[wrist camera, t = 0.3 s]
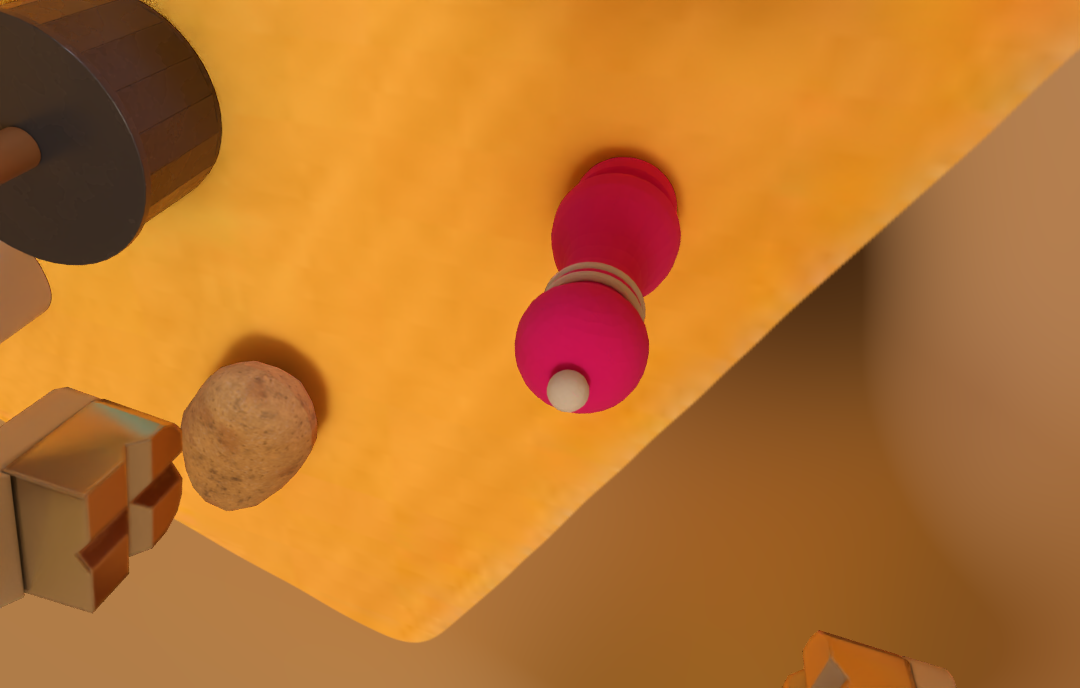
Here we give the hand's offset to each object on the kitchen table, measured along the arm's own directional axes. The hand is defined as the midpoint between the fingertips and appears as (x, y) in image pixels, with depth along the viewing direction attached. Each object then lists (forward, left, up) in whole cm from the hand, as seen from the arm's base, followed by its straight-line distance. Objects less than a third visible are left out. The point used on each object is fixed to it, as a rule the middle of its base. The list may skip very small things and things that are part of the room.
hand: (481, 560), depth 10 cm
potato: (+38, -22, -39) cm, 59 cm away
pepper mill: (+13, 0, -39) cm, 41 cm away
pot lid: (+16, -33, -31) cm, 47 cm away
